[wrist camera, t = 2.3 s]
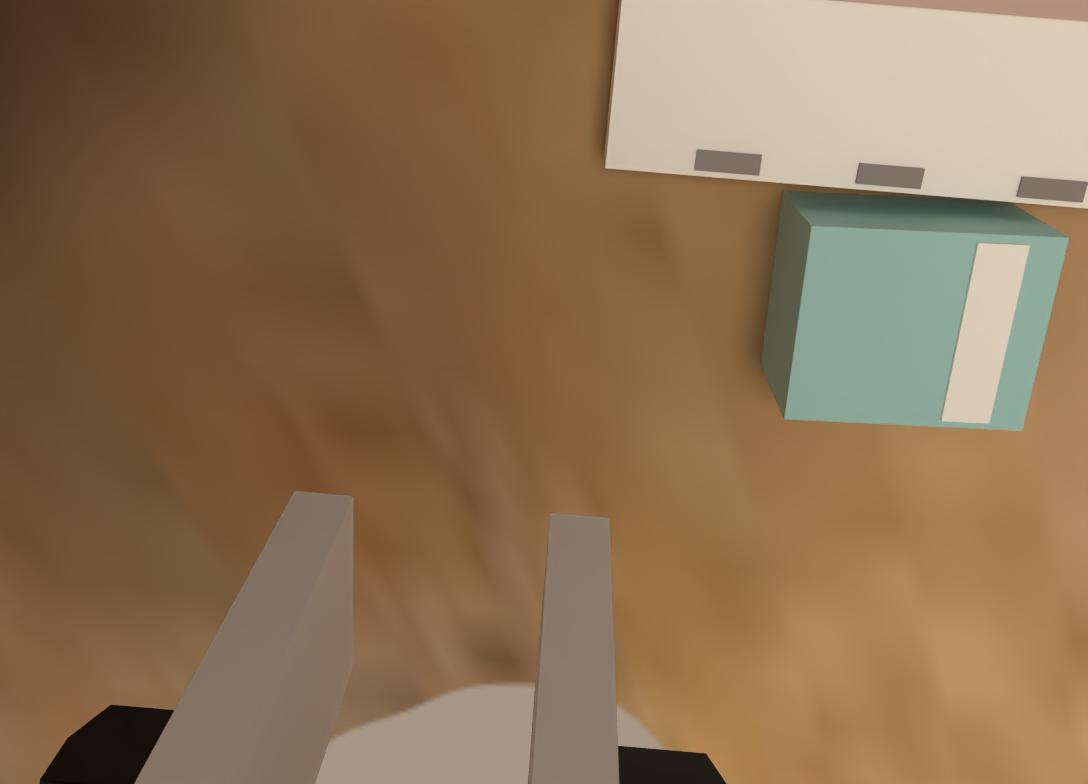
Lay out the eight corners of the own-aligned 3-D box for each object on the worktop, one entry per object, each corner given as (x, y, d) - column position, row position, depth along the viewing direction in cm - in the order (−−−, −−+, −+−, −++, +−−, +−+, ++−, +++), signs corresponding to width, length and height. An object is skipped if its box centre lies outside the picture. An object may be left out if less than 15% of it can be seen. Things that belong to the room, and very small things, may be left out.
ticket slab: (604, 154, 28) (605, 168, 26) (637, -187, 24) (641, -199, 22) (1430, 222, 27) (1494, 243, 25) (1570, -112, 24) (1656, -117, 22)
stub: (759, 361, 30) (784, 421, 26) (781, 189, 28) (812, 227, 24) (968, 371, 30) (1023, 432, 26) (1004, 199, 28) (1071, 239, 24)
